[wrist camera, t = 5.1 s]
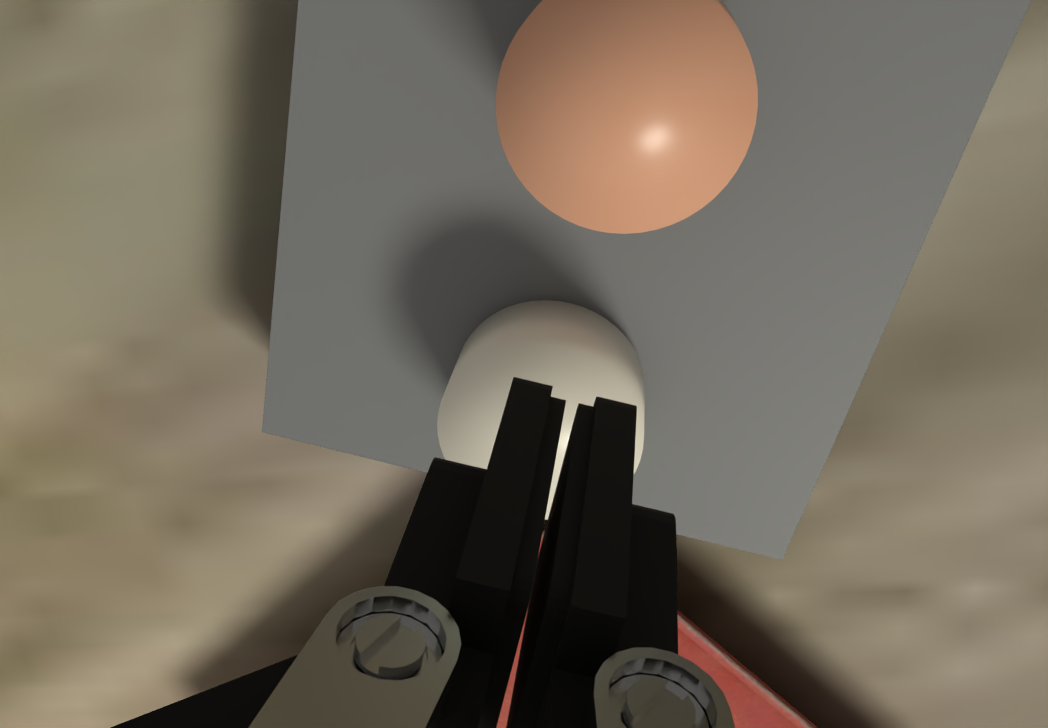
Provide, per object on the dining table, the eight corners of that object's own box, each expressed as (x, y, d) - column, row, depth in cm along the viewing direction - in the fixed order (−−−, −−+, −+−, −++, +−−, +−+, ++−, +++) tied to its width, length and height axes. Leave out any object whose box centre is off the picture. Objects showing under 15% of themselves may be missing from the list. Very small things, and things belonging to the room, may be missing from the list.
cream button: (474, 279, 22) (455, 320, 20) (668, 327, 22) (669, 372, 20) (441, 442, 24) (422, 492, 22) (617, 484, 24) (614, 539, 22)
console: (409, -669, 17) (363, -768, 14) (1180, -490, 17) (1278, -556, 14) (300, 377, 27) (262, 432, 25) (769, 492, 27) (781, 560, 25)
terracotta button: (539, -69, 17) (524, -60, 16) (780, -11, 17) (796, 5, 16) (492, 168, 20) (474, 201, 18) (706, 220, 20) (712, 259, 18)
